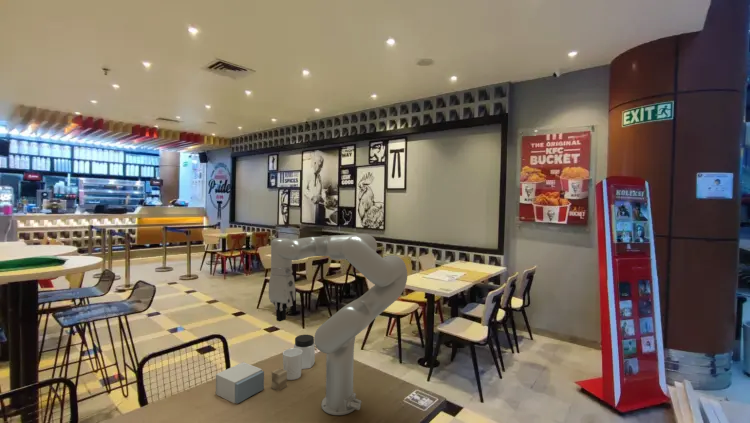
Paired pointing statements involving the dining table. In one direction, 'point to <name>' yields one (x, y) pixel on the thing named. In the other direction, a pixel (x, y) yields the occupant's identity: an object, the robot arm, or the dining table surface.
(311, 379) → the dining table surface
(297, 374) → the white cup
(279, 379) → the beige block
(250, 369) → the housing
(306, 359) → the jar
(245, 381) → the blue-grey open box
